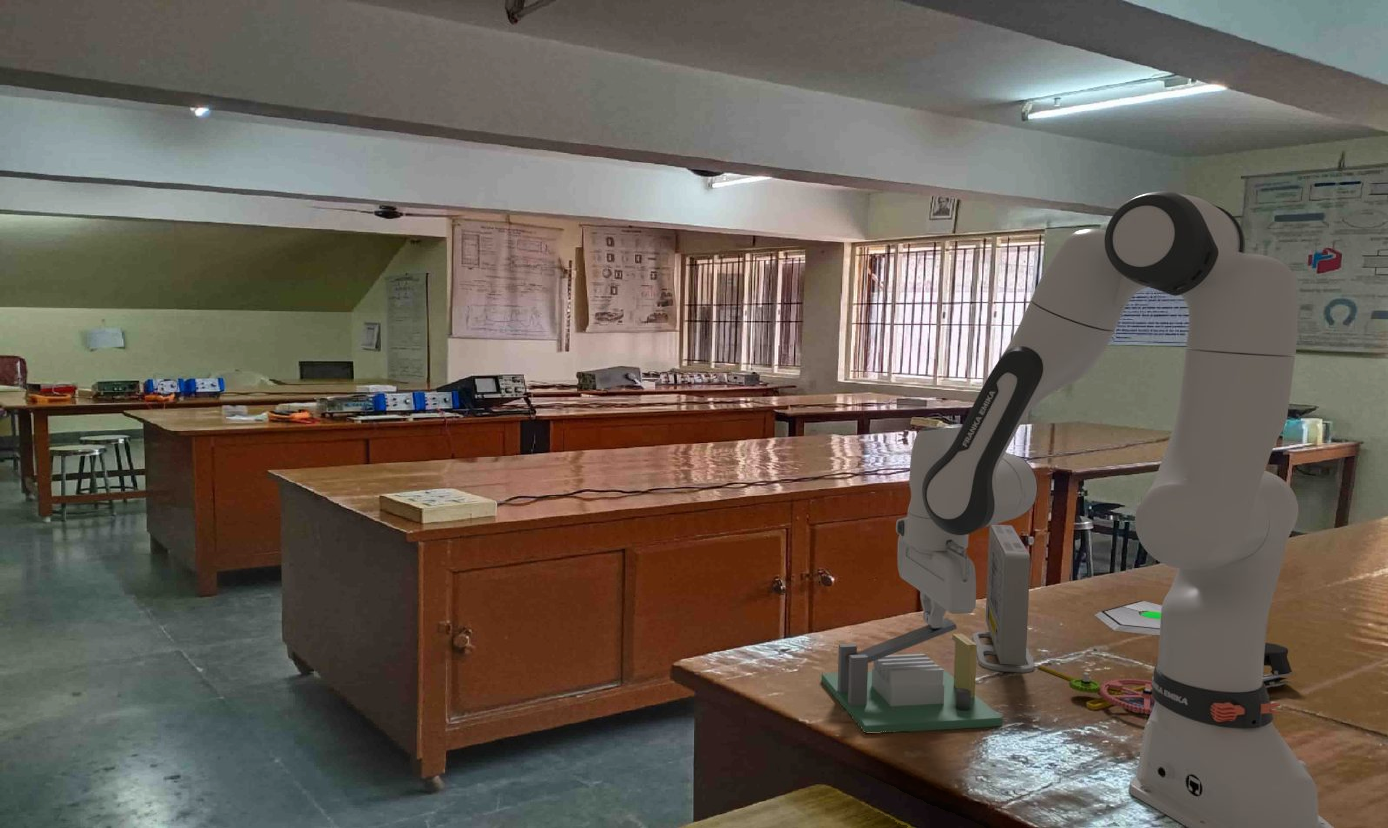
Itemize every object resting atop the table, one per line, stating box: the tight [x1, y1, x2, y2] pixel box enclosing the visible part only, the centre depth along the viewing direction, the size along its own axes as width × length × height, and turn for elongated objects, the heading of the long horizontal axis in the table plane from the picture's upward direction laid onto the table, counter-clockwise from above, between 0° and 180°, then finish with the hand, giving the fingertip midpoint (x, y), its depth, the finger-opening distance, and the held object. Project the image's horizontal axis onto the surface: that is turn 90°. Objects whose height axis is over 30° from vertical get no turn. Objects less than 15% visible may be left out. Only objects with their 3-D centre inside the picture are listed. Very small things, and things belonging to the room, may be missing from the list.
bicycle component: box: [1262, 642, 1293, 689], centre depth 152 cm, size 12×7×15 cm
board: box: [821, 633, 1003, 733], centre depth 142 cm, size 20×20×9 cm
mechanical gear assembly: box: [1037, 665, 1155, 716], centre depth 145 cm, size 30×4×15 cm
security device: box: [1094, 600, 1162, 636], centre depth 184 cm, size 17×22×2 cm
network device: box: [972, 524, 1036, 673], centre depth 164 cm, size 26×9×20 cm, turn 168°
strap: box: [846, 617, 958, 664], centre depth 141 cm, size 3×16×1 cm, turn 100°
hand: (932, 624), depth 143 cm, fingers closed, pressing on strap
